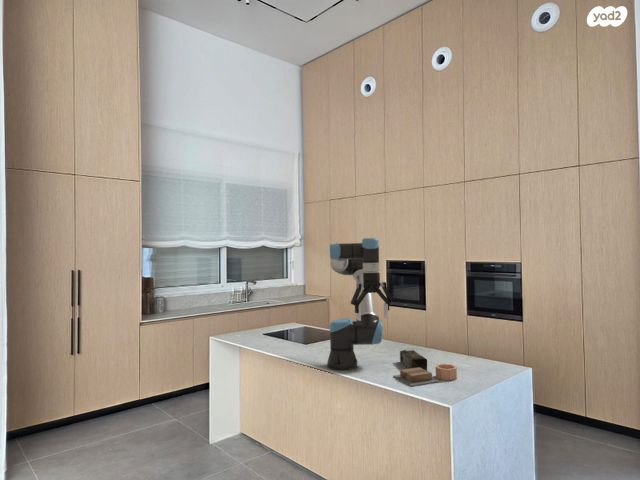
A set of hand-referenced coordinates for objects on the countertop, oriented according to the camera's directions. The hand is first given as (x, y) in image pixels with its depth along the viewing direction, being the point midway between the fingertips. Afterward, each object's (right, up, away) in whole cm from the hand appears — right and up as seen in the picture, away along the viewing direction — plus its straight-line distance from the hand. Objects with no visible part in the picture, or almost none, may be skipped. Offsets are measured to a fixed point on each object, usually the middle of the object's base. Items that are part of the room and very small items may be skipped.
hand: (372, 319), depth 192 cm
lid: (+19, -26, -4) cm, 32 cm away
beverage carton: (+22, -27, +17) cm, 39 cm away
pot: (+33, -26, -2) cm, 42 cm away
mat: (+19, -26, -4) cm, 32 cm away
